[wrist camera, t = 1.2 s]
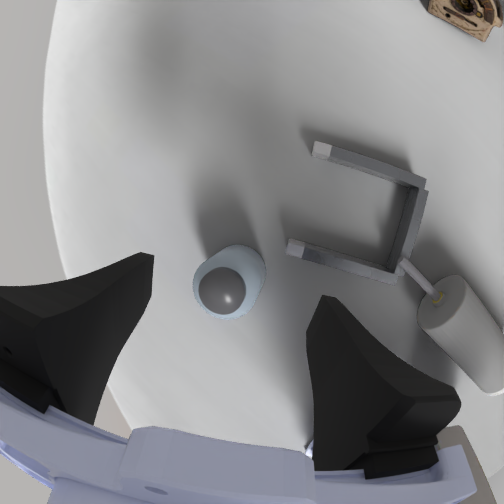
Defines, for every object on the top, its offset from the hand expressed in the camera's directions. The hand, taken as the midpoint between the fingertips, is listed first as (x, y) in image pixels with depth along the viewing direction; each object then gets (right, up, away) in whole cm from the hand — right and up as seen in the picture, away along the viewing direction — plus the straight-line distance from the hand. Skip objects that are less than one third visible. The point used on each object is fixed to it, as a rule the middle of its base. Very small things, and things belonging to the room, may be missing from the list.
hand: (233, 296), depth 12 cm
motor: (+26, +2, +6) cm, 27 cm away
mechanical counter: (+23, +28, +2) cm, 36 cm away
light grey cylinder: (0, 0, +11) cm, 11 cm away
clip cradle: (+9, +5, +9) cm, 13 cm away
